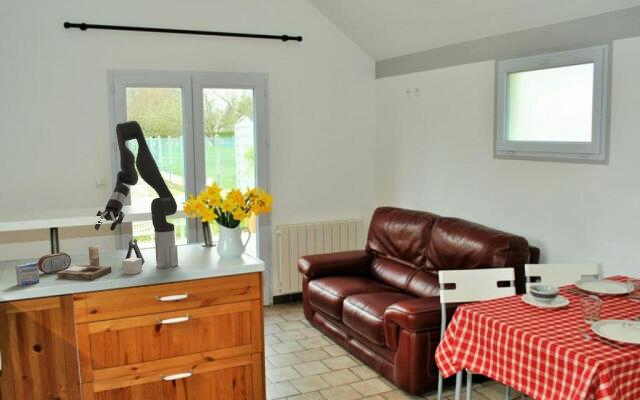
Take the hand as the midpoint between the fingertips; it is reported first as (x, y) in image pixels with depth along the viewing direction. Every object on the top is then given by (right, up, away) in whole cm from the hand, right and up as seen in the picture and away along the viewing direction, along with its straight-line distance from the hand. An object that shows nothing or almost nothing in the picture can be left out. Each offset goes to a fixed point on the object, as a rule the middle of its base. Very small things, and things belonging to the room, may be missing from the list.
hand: (103, 229), depth 290 cm
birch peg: (-2, -18, -6) cm, 19 cm away
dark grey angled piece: (+15, -17, -1) cm, 23 cm away
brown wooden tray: (-1, -20, -20) cm, 28 cm away
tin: (-18, -19, -12) cm, 29 cm away
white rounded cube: (+19, -19, -16) cm, 31 cm away
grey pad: (-6, -17, -19) cm, 26 cm away
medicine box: (-21, -22, -32) cm, 44 cm away
